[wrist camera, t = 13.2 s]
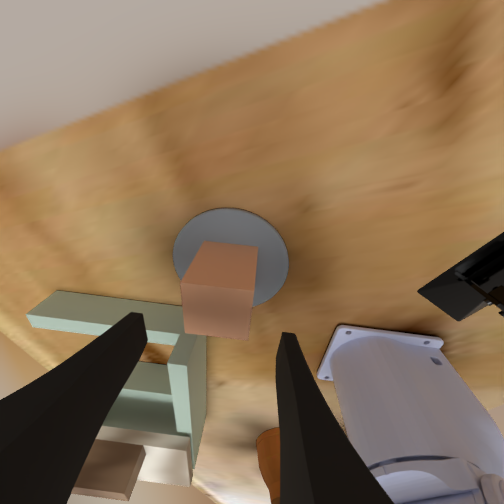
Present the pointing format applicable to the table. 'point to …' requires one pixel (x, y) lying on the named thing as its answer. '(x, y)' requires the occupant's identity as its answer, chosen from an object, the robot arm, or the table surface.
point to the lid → (133, 462)
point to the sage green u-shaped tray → (142, 363)
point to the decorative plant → (270, 461)
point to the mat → (242, 233)
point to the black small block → (471, 282)
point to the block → (220, 290)
